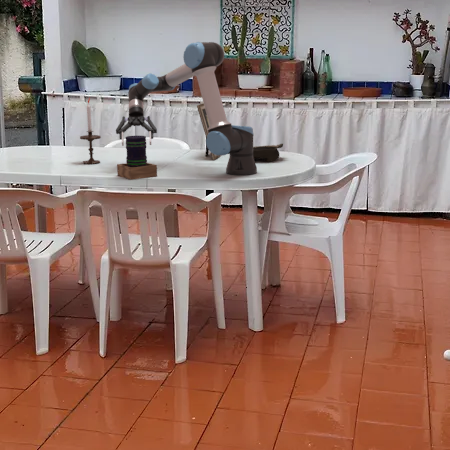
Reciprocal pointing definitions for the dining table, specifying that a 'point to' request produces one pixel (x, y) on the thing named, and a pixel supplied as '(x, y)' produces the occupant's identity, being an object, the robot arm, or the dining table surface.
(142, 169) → the wooden box
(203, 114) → the picture frame
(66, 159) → the dining table surface
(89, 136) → the candlestick
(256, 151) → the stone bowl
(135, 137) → the storage jar
